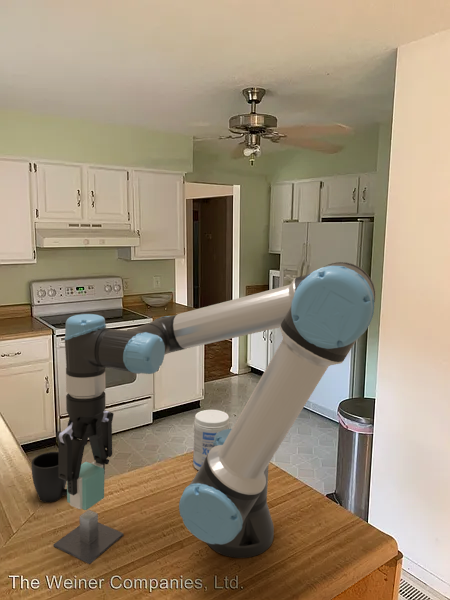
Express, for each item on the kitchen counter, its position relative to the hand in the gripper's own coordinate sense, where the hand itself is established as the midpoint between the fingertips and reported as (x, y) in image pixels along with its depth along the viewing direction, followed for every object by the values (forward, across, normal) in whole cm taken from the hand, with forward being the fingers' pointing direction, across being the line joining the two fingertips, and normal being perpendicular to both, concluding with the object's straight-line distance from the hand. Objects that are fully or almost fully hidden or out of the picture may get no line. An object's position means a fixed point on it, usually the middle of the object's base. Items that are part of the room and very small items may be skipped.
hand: (87, 498), depth 97 cm
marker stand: (+9, 0, 0) cm, 9 cm away
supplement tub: (+10, -40, +6) cm, 42 cm away
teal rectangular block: (0, 0, 0) cm, 0 cm away
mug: (+10, -8, -18) cm, 22 cm away
